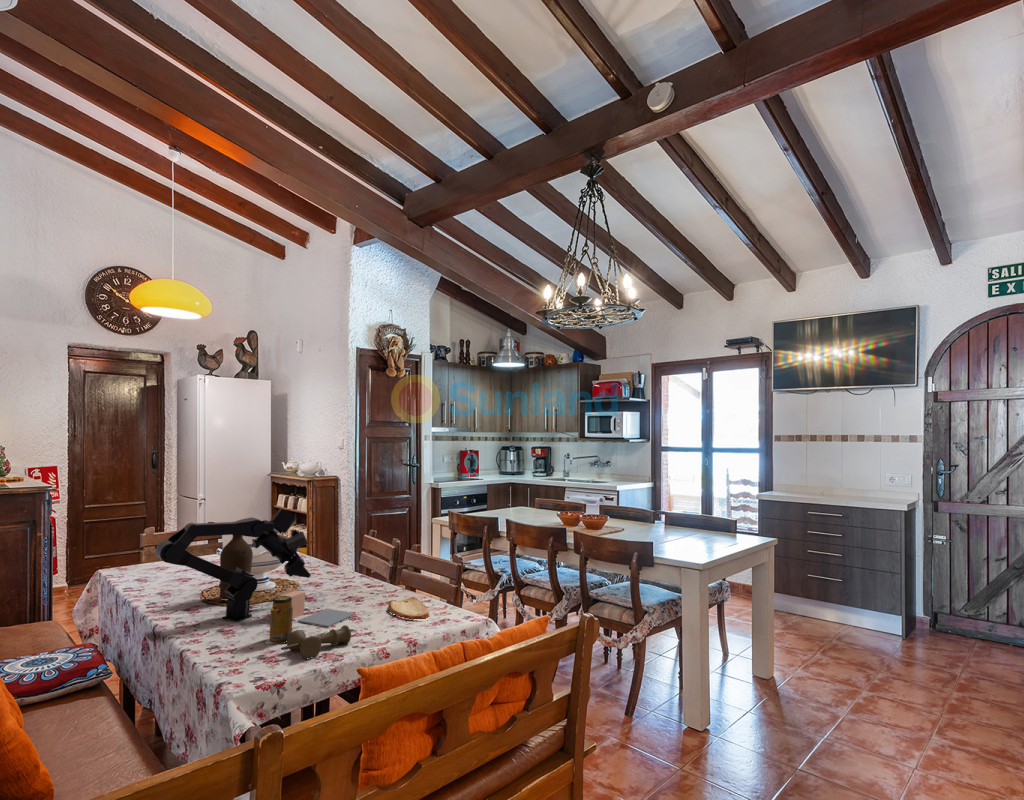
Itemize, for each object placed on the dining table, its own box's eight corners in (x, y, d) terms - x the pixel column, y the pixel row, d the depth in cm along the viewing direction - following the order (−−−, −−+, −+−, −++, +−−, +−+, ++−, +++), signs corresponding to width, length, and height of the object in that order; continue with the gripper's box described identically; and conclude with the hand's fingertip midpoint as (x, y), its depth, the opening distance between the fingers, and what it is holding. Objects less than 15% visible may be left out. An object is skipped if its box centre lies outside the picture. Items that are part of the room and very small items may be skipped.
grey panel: (328, 627, 181) (328, 625, 181) (297, 622, 186) (297, 620, 186) (355, 614, 195) (356, 613, 195) (326, 610, 199) (326, 608, 199)
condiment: (272, 635, 173) (274, 594, 174) (301, 635, 174) (303, 594, 175) (264, 644, 166) (266, 601, 167) (295, 644, 167) (297, 601, 168)
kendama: (356, 648, 166) (288, 665, 152) (338, 640, 173) (272, 655, 159) (357, 627, 167) (290, 641, 153) (339, 619, 174) (273, 633, 159)
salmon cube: (290, 619, 188) (291, 597, 188) (273, 617, 190) (275, 594, 190) (304, 614, 194) (305, 592, 194) (288, 611, 196) (289, 589, 197)
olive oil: (256, 595, 214) (260, 526, 215) (239, 603, 204) (242, 531, 205) (229, 593, 216) (233, 525, 217) (211, 601, 205) (215, 529, 206)
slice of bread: (426, 623, 189) (426, 611, 189) (374, 618, 193) (375, 606, 193) (444, 607, 207) (444, 597, 207) (396, 603, 210) (396, 592, 210)
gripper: (299, 537, 191) (331, 564, 199) (288, 517, 207) (318, 543, 214) (272, 563, 188) (305, 589, 196) (263, 540, 204) (294, 566, 212)
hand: (306, 570), depth 205 cm, fingers open, 9 cm apart
